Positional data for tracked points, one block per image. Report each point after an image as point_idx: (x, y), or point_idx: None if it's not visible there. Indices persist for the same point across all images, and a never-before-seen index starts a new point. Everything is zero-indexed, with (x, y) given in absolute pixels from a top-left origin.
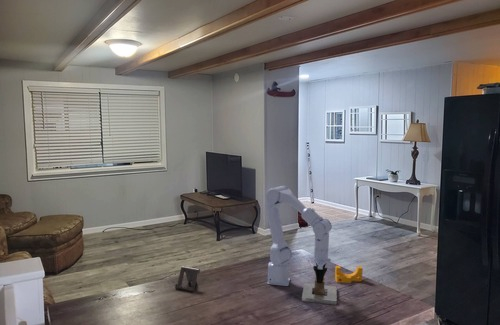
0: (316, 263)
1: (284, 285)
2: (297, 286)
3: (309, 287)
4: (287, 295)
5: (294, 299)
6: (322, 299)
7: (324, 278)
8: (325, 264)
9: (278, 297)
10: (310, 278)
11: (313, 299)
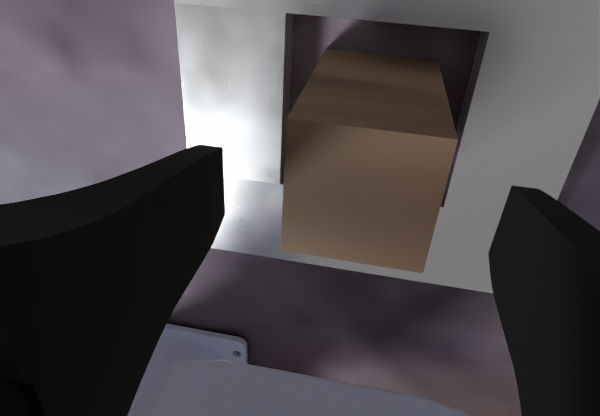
0: (125, 398)
1: (246, 359)
2: (224, 275)
3: (280, 212)
4: (405, 354)
5: (479, 320)
6: (592, 103)
7: (304, 123)
8: (89, 232)
9: (444, 404)
10: (17, 159)
11: (553, 195)
